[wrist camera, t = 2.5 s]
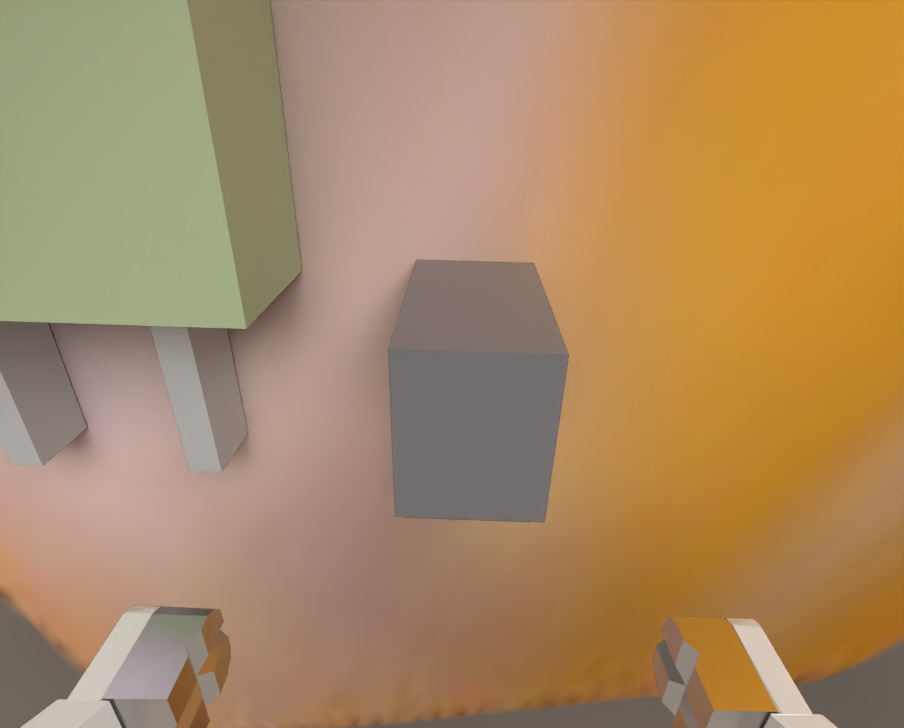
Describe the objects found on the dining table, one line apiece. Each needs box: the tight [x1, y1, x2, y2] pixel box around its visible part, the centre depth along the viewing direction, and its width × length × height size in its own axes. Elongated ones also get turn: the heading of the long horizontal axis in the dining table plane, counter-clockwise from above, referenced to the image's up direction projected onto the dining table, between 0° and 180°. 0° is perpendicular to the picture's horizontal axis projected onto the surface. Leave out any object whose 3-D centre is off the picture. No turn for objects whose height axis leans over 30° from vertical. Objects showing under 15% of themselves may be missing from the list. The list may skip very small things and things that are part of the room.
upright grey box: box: [388, 260, 569, 522], centre depth 16 cm, size 4×7×7 cm, turn 179°
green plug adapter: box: [0, 0, 302, 473], centre depth 15 cm, size 14×15×7 cm
